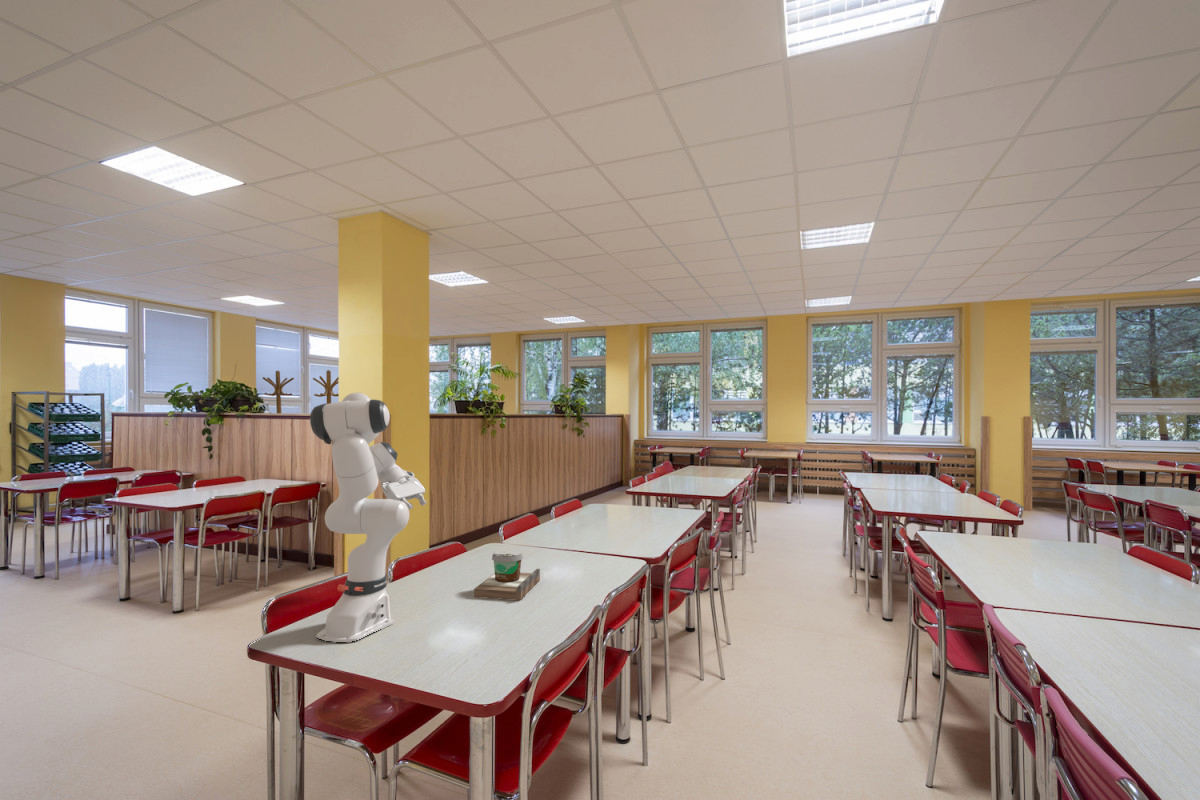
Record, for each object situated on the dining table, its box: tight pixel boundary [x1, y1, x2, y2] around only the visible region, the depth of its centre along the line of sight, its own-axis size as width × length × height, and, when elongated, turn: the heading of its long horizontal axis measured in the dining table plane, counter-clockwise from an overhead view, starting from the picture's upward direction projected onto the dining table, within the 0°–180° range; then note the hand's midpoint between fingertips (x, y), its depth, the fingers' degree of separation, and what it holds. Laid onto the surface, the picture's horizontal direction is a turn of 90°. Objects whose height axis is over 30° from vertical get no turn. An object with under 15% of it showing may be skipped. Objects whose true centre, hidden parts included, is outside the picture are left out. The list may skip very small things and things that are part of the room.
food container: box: [491, 551, 524, 583], centre depth 193 cm, size 12×6×10 cm, turn 80°
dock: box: [473, 568, 541, 601], centre depth 194 cm, size 22×18×5 cm
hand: (417, 506), depth 194 cm, fingers open, 8 cm apart
